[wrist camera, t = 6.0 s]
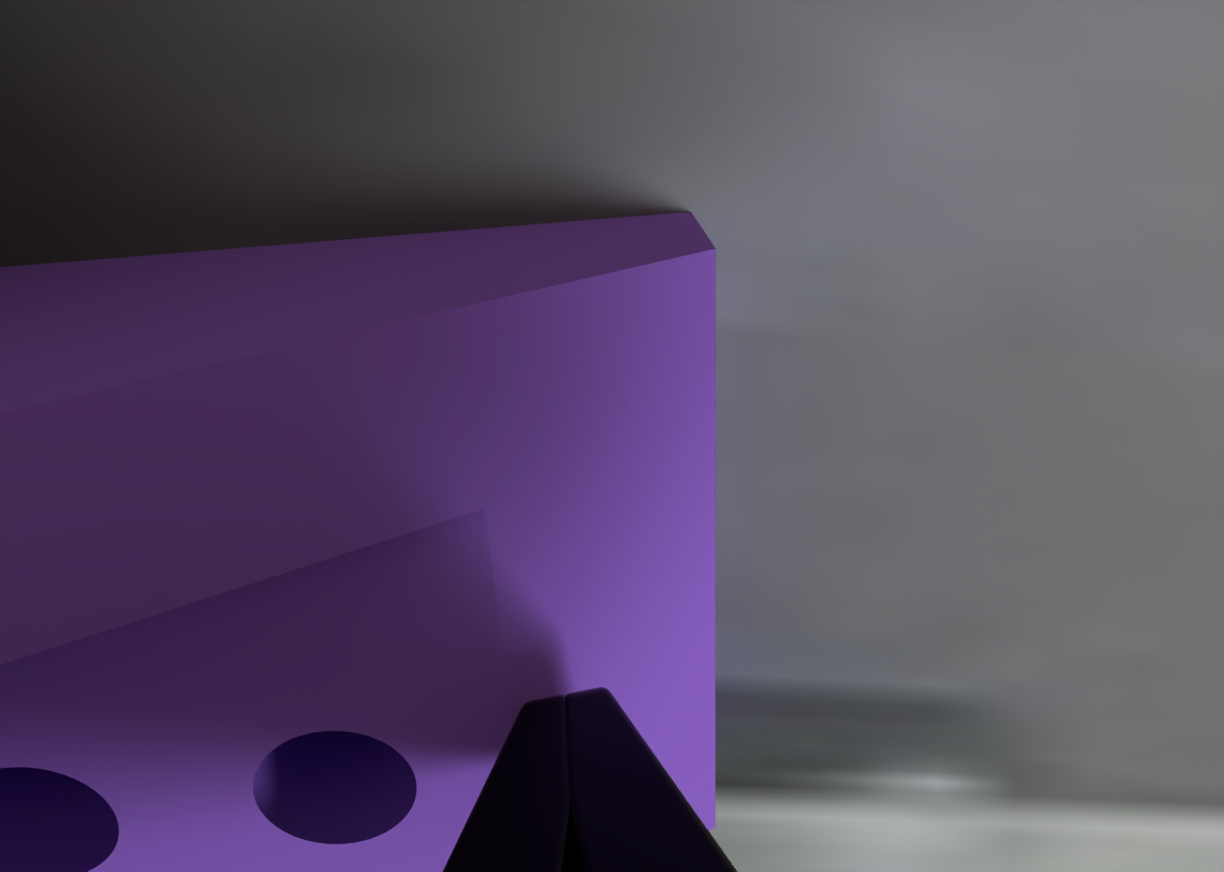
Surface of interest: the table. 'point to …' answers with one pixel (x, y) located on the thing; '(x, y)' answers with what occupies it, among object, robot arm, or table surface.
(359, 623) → the bracket
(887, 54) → the table surface
